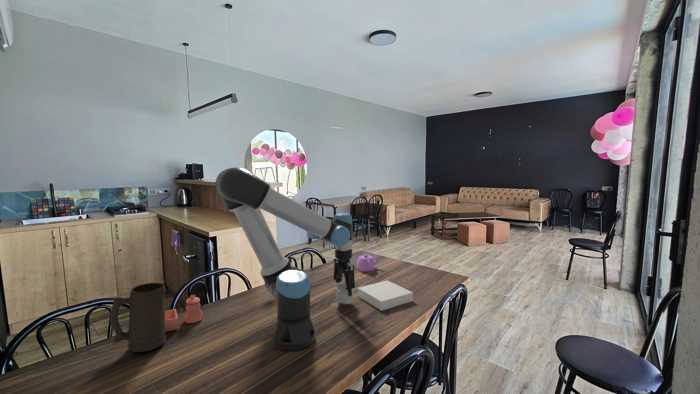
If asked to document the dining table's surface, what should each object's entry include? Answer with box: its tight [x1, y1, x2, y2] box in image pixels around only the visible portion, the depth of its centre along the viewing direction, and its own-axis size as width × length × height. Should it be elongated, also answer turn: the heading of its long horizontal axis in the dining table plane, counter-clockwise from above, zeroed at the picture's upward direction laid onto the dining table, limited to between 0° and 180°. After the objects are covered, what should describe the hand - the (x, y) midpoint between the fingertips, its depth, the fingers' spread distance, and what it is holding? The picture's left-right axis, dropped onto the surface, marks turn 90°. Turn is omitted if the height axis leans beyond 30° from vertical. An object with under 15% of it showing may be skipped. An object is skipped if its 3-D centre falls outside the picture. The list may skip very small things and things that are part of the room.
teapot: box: [356, 253, 381, 273], centre depth 177 cm, size 15×14×10 cm
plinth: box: [357, 280, 414, 311], centre depth 137 cm, size 18×18×4 cm
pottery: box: [165, 294, 204, 333], centre depth 114 cm, size 18×10×10 cm, turn 125°
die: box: [334, 282, 355, 306], centre depth 130 cm, size 8×9×10 cm
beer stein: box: [108, 282, 167, 353], centre depth 99 cm, size 15×11×20 cm
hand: (343, 299), depth 131 cm, fingers closed on die, 7 cm apart
